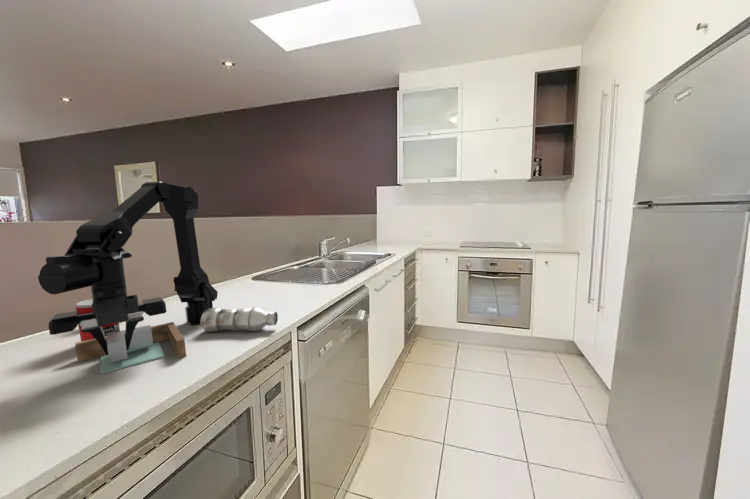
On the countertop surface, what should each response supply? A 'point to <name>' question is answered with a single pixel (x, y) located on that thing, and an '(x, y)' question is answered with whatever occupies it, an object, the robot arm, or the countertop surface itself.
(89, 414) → the countertop surface
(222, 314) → the plastic bottle
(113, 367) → the pad
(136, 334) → the bracket
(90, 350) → the wooden corner wall
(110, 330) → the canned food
